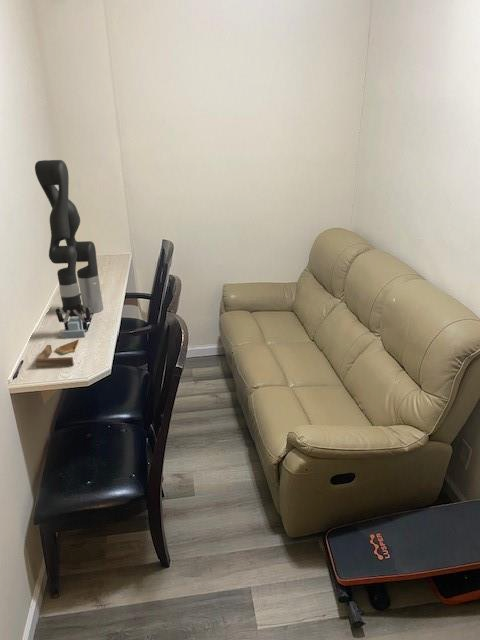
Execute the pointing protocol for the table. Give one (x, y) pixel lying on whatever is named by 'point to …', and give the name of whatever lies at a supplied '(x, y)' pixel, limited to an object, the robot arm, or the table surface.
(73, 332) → the grey inverted t block
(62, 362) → the corner fence
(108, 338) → the table surface
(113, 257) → the table surface
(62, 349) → the shard
